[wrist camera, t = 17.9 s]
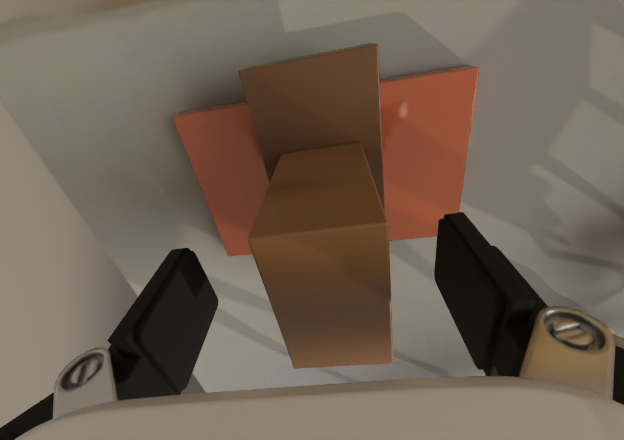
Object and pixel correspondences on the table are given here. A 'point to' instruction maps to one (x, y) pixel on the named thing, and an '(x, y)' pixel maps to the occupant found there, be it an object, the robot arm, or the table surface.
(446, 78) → the tile
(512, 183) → the table surface
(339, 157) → the brown stepped block
